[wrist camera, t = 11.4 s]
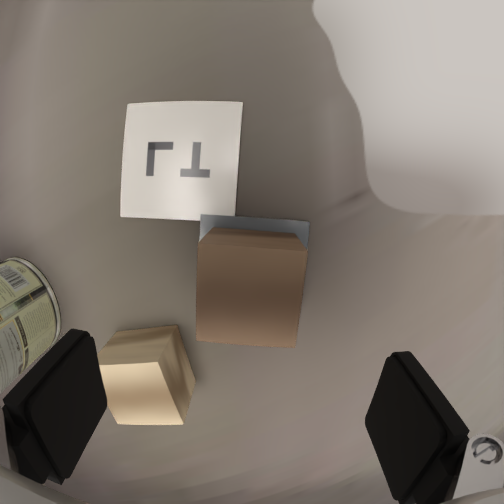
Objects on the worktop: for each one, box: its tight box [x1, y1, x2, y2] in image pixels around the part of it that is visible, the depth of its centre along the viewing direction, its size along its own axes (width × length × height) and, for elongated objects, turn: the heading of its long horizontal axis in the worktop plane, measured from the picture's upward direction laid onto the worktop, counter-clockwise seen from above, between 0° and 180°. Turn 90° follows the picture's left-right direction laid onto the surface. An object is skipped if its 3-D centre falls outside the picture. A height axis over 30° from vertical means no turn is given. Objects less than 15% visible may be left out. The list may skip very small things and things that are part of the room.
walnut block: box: [196, 227, 308, 348], centre depth 20 cm, size 6×6×6 cm
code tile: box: [120, 101, 243, 221], centre depth 22 cm, size 9×9×1 cm
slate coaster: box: [199, 214, 310, 249], centre depth 24 cm, size 8×8×1 cm
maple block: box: [97, 325, 196, 425], centre depth 23 cm, size 6×6×6 cm
